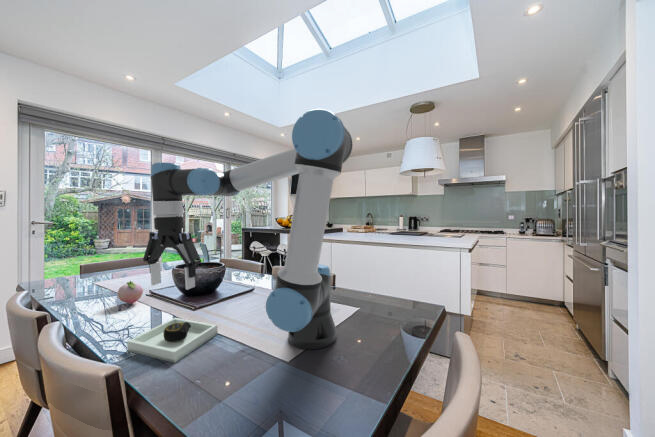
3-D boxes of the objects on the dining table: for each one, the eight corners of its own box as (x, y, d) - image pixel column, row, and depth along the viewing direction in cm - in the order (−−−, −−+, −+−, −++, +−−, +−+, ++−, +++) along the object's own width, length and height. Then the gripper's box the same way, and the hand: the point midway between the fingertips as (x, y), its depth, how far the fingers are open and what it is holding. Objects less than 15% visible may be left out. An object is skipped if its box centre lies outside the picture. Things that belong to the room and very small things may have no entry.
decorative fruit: (114, 305, 110) (113, 281, 110) (137, 298, 117) (136, 276, 116) (123, 310, 105) (121, 285, 104) (146, 303, 112) (145, 280, 111)
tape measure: (186, 342, 79) (185, 330, 79) (160, 345, 77) (159, 333, 77) (191, 331, 86) (190, 320, 86) (167, 334, 84) (167, 323, 84)
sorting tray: (217, 334, 86) (217, 325, 85) (174, 362, 70) (174, 352, 70) (175, 326, 91) (175, 317, 91) (127, 351, 76) (127, 341, 76)
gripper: (211, 215, 78) (215, 285, 79) (150, 215, 86) (154, 279, 87) (191, 216, 71) (195, 294, 72) (126, 216, 79) (131, 286, 80)
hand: (172, 286), depth 80 cm, fingers open, 13 cm apart
